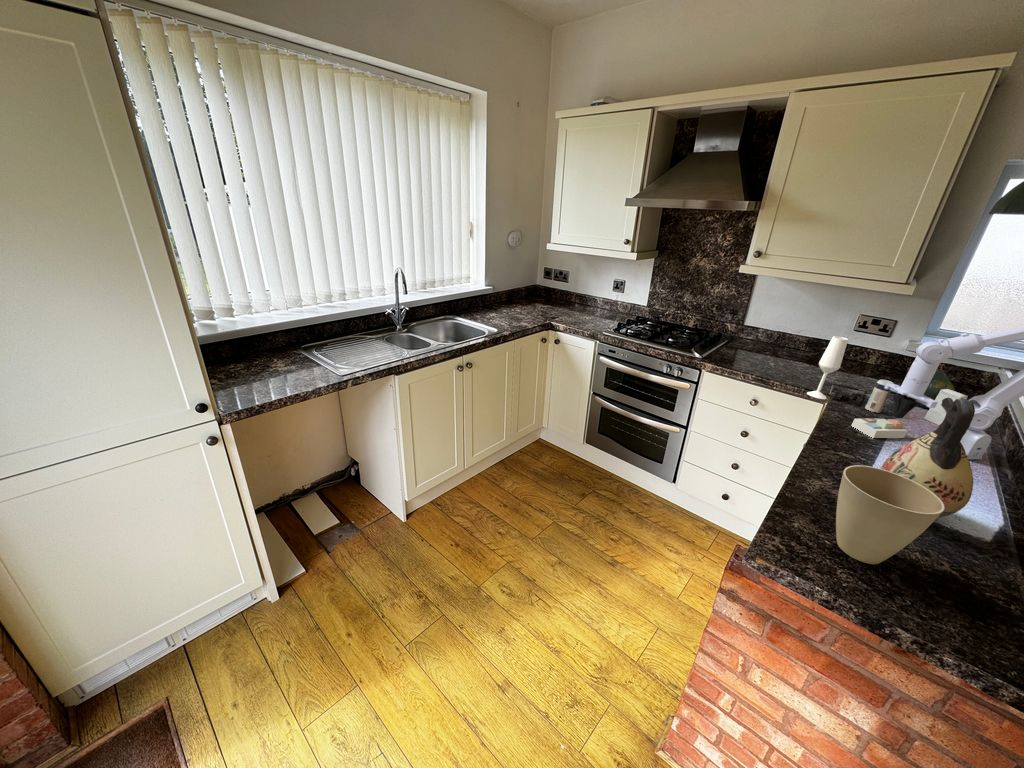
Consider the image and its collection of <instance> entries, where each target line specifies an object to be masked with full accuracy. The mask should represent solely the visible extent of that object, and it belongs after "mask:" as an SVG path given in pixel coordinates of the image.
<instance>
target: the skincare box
mask: <svg viewBox="0 0 1024 768" xmlns="http://www.w3.org/2000/svg"><path fill="white" fill-rule="evenodd" d="M955 391H956V390H955ZM955 391H952V390H949V389H943V390H940V392H939V394H938V396H937V397H936V399H935V401H936V402H938V403H937V405H936V407H935V408H928V409H929V410H927V412H926V414H925V416H924V417H923V420H926V421H928V422H931V423H933V424H936V425H938V426H939V425H940V424H941V423H942V422H943V420H944V418H945V416H946V411H945V409H944V408H943V407H942V406H941V404H942V400H943V399H945V398H948V397H949V398H951V399H952V400H953V402H954V401H955V400H956V399H967V400H968V395H966V394H963V393H960V392H957V391H956V392H955Z"/></svg>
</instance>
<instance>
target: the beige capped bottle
mask: <svg viewBox="0 0 1024 768" xmlns="http://www.w3.org/2000/svg"><path fill="white" fill-rule="evenodd" d="M886 383H893V384H894V382H892V381H890V380H887V379H883V378H882V379H879V380H878V381H876V384H875V386H874V388H873V390H872V392H871V394H870V396H869V399H868V400H867V403H866V404H865V406H864V409H866V411H868V410H869V411H868V412H870V411H871V412H870V413H874V412H876V414H878V413H879V414H881V412H882V410H883V408H884V405H885V404H886V402H887V399H888V398H889V395H890V394H891V391H892V390H889V389H885V388H884V387H885V385H886Z"/></svg>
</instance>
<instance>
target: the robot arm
mask: <svg viewBox="0 0 1024 768" xmlns="http://www.w3.org/2000/svg"><path fill="white" fill-rule="evenodd" d="M1021 341H1024V324H1022V325H1019V326H1018V325H1017V326H1015V327H1011V328H1007V329H1003V330H999V331H995V332H991V333H987V334H983V335H977V334H975V333H969V334H968V333H967V332H965V333H961V334H960V335H959V336H956V337H951V338H950V337H949V338H947V339H944V338H940V339H938V341H925V342H923V343H922V344H920V345H919V346H918V347H916V348H915V353H916V356H915V359H914V360H913V362H912V364H911V365H910V367H909V369H908V371H907V373H906V376H905V378H904V380H903V381H902V384H901V385H898V384H895V383H894V382H893V383H886V385H885V387H884V388H885V389H889V390H891V391H892V392H894V393H896V394H895V395H893V397H892V398H893V402H894V410H893V411H894V413H893V417H894V418H896V419H904V418H905V416H906V415H908V413H909V412H910V411H912V410H913V409H914V408H916V407H918V406H920V404H921V403H922V404H924V405H926V406H927V407H929V408H928V409H930V408H935V407H936V405H937V403H938V402H936V401H934V400H932V399H930V398H929V397H927V396H925V395H923V394H924V392H925V391H926V389H927V387H928V385H929V383H930V381H931V379H932V378H933V376H934V374H935V372H936V371H938V367H939V366H940V364H941V363H943V362H945V361H947V359H952V358H953V359H954V358H958V357H961V356H967V355H972V354H976V353H980V352H981V351H982V350H983V349H984V348H986V347H991V346H997V345H1003V344H1008V343H1014V342H1021ZM1022 397H1024V368H1023V369H1021V370H1019V371H1018V372H1016V373H1015V374H1013V375H1011V376H1010V377H1009V378H1007V379H1006V380H1004V381H1003V382H1001V383H999V384H998V385H996V386H995V387H993V388H992V389H990V390H989V391H987V392H986V393H985V394H981V395H975V396H973V397H971V398H970V399H968V400H969V401H972V402H973V404H974V408H975V413H974V417H973V419H972V422H971V424H970V427H969V428H968V429H967V431H966V433H965V434H964V436H963V437H962V439H961V441H960V442H961V444H962V445H963V447H964V449H965V453H966V455H967V456H968V460H982V459H983V457H982V456H983V455H984V454H985V453H986V450H987V449H988V447H989V446H990V445H991V442H992V436H991V435H990V434H987V433H986V432H985V430H986V429H989V428H990V427H991V426H992V425H993V424H994V422H995V421H996V419H998V418H999V417H1001V416H1002V413H1003V411H1004V409H1005V407H1008V406H1009V405H1010V404H1012V403H1013V402H1015V401H1017V400H1018V399H1020V398H1022Z"/></svg>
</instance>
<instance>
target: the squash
mask: <svg viewBox="0 0 1024 768" xmlns="http://www.w3.org/2000/svg"><path fill="white" fill-rule="evenodd" d="M943 389H949V390H952V391H955V392H957V391H956V389H955V386H954V385H953V383H952V382H951V381H950V379H949V377H948V376H947V374H946V373H945V372H944V370H936V372H935V374H934V376H933V378H932V379H931V381H930V383H929V385H928V387H927V389H926V391H925V392H924V394H923V395H925V396H927V397H929V398H930V399H932V400H934V401H935V399H936V397H937V396H938V394H939V392H940V390H943ZM919 407H920V408H922V409H930V408H929V407H927V406H926V405H924V404H922V403H921V404H920V405H919Z"/></svg>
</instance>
